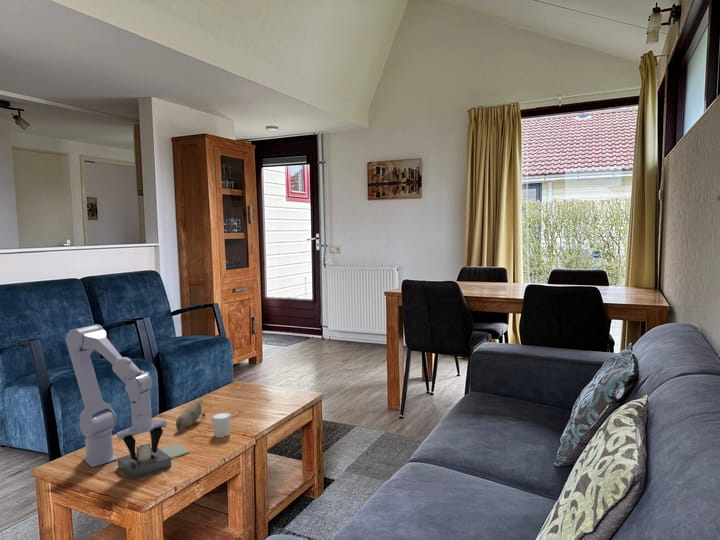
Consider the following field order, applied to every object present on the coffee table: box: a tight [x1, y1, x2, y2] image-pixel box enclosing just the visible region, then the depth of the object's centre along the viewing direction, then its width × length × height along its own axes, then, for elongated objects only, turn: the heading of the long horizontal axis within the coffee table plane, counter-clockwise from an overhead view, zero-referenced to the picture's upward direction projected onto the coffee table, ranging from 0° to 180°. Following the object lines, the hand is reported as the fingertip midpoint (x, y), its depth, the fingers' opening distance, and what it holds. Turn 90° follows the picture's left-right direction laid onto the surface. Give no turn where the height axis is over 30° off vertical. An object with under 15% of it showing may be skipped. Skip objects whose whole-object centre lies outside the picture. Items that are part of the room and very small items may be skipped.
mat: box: [159, 443, 191, 460], centre depth 168 cm, size 9×7×1 cm
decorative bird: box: [175, 399, 207, 433], centre depth 193 cm, size 5×16×7 cm, turn 167°
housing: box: [117, 447, 172, 481], centre depth 158 cm, size 12×12×3 cm
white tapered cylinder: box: [211, 412, 232, 438], centre depth 183 cm, size 7×7×7 cm
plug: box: [135, 442, 151, 462], centre depth 158 cm, size 4×4×7 cm
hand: (143, 455), depth 158 cm, fingers open, 6 cm apart
